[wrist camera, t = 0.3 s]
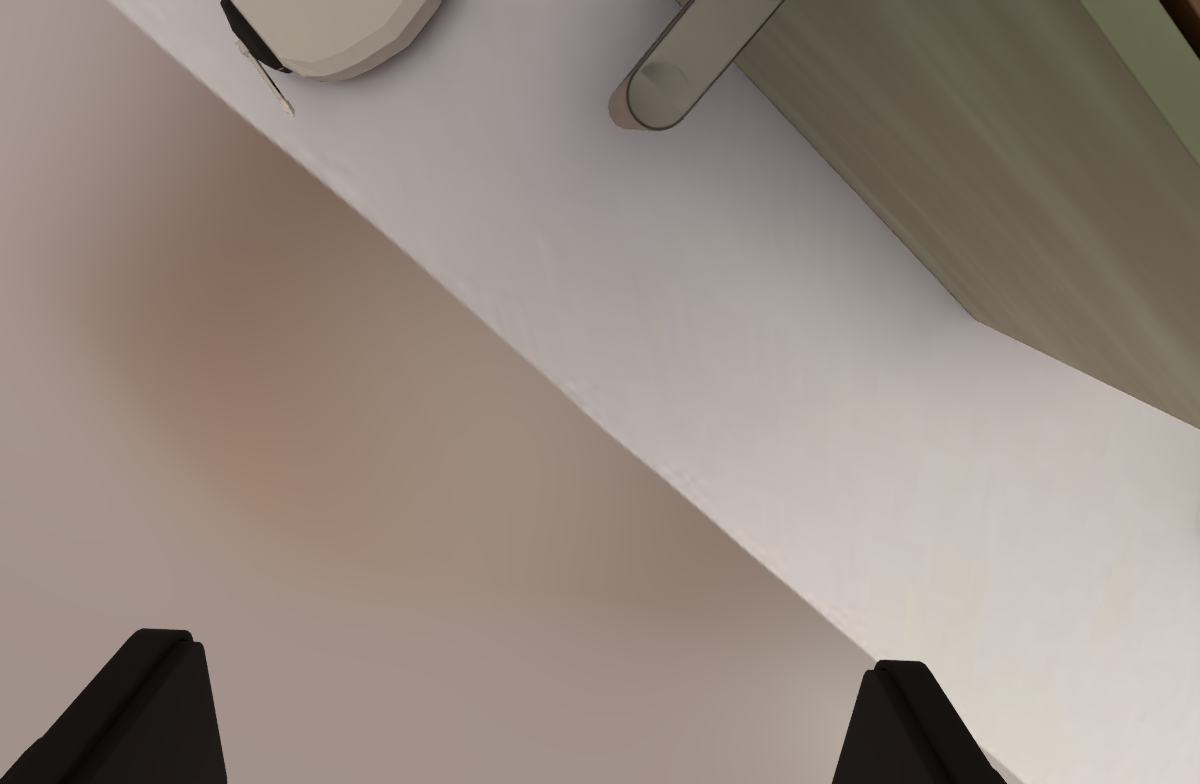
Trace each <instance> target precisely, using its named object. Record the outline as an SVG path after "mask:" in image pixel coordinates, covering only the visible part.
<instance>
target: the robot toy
mask: <svg viewBox="0 0 1200 784" xmlns="http://www.w3.org/2000/svg"><path fill="white" fill-rule="evenodd" d="M441 2H442V0H221V3H220V4H221V6H222V8H223V10H224V12H225V14H226V17H227V19H228V21H229V24H230V26H231V28H232V31H233V32H234V33H235V34H236V35H237V37H238V38H239V40H238V41H237V42H236V43H235V44H236V45H237V46H238V48H239V49H240V51H241V52H242V54H243V55H245V56H247V57H249V59H250V60H251V62H252V63H253V64H254V66H255V67H256V69H257V70H258V71H259V73H260V74H261V76H262V77H263V79H264V80H265V81H266V83H267V84H268V86H269V87H270V88H271V90H272V91H273V93H274V94H275V95H276V97H277V98H278V100H279V101H280V102H279V103H280V105H281V106H282V108H283V109H284V110H285V111H286V112H287V113H289V114H290V115H292V116H294V109H293V107H292V106H291V104H290V103H289V101H287V100H286V99H285V98H284V96H283V95H282V94H281V92H280V91H279V89H278V88H277V87H276V85H275V84H274V82H273V81H272V79H271V78H270V77H269V75H268V74H267V72H266V71H265V70H264V68H263V67H262V65H261V64H260V62H259V61H261V62H262V63H264V64H266V65H268V66H269V67H271V68H273V69H275V70H278V71H281V72H284V73H291V72H296V73H298V74H300V75H302V76H304V77H307V78H310V79H313V80H317V81H320V82H322V81H343V80H347V79H350V78H353V77H355V76H358V75H360V74H362V73H364V72H367V71H369V70H371V69H373V68H375V67H376V66H378V65H379V64H381V63H382V62H384V61H386V60H387V59H389V58H390V57H392V56H394V55H395V54H397V53H398V52H400V51H401V50H403V49H405V48H406V47H408V46H409V45H410V43H411V42H412V41H413V40H414V38H415V37H416V36H417V35H418V33H419V32H420V31H421V29H422V28H423V27H424V26H425V24H426V23H427V22H428V20H429V19H430V18H431V17H432V15H433V14H434V13H435V11H436V10H437V8H438V7H439V5H440V3H441ZM257 59H258V60H259V61H258V60H257Z"/></svg>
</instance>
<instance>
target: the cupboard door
mask: <svg viewBox="0 0 1200 784" xmlns="http://www.w3.org/2000/svg"><path fill="white" fill-rule="evenodd" d="M677 1H678V2H679V4H680V5H681V6H682V7H683V8H682V9H681V10H680V11H679V13H678V14H677V15H676V16H675V17H674V19H673V20H672V21H671V22H670V24H669V25H668V26H667V27H666V28H665V30H664V31H663V32H662V33H661V35H660V36H659V37H658V38H657V39H656V41H655V42H654V43H653V44H652V46H651V47H650V48H649V49H648V50H647V52H646V53H645V54H644V55H643V57H642V58H641V59H640V60H639V61H638V63H637V64H636V65H635V66H634V68H633V69H632V70H631V71H630V72H629V74H628V75H627V76H626V77H625V79H624V80H623V81H622V82H621V83H620V85H619V86H618V87H617V88H616V90H615V91H614V92H613V93H612V95H611V97H610V100H609V104H608V109H609V114H610V117H611V119H612V120H613V122H614V123H615V124H616V125H617V126H619V127H621V128H624V129H634V130H653V131H662V130H667V129H670V128H672V127H674V126H675V125H677V124H678V123H680V122H681V121H682V120H683V118H684V117H685V116H686V115H687V114H688V113H689V112H690V110H691V109H692V108H693V107H694V106H695V105H696V103H697V102H698V101H699V100H700V99H701V98H702V97H703V95H704V94H705V93H706V92H707V91H708V90H709V88H710V87H711V86H712V85H713V84H714V83H715V81H716V80H717V79H718V78H719V77H720V76H721V75H722V73H723V72H724V71H725V70H726V69H727V68H728V66H729V65H730V64H731V63H732V62H733V61H734V62H735V63H736V64H737V65H738V67H739V68H740V69H741V70H742V71H743V72H744V73H745V74H746V75H747V76H748V77H749V78H750V79H751V80H752V81H753V83H754V84H755V85H756V86H757V87H758V88H759V89H760V90H761V91H762V92H763V93H764V94H765V95H766V96H767V98H768V99H769V100H770V101H771V102H772V103H773V104H774V105H775V106H776V107H777V108H778V109H779V110H780V111H781V112H782V114H783V115H784V116H785V117H786V118H787V119H788V120H789V121H790V122H791V123H792V124H793V125H794V126H795V127H796V128H797V130H798V131H799V132H800V133H801V134H802V135H803V136H804V137H805V138H806V139H807V140H808V141H809V142H810V143H811V144H812V146H813V147H814V148H815V149H816V150H817V151H818V152H819V153H820V154H821V155H822V156H823V157H824V158H825V159H826V161H827V162H828V163H829V164H830V165H831V166H832V167H833V168H834V169H835V170H836V171H837V172H838V173H839V174H840V175H841V177H842V178H843V179H844V180H845V181H846V182H847V183H848V184H849V185H850V186H851V187H852V188H853V189H854V190H855V191H856V193H857V194H858V195H859V196H860V197H861V198H862V199H863V200H864V201H865V202H866V203H867V204H868V205H869V206H870V207H871V209H872V210H873V211H874V212H875V213H876V214H877V215H878V216H879V217H880V218H881V219H882V220H883V221H884V222H885V223H886V225H887V226H888V227H889V228H890V229H891V230H892V231H893V232H894V233H895V234H896V235H897V236H898V237H899V238H900V240H901V241H902V242H903V243H904V244H905V245H906V246H907V247H908V248H909V249H910V250H911V251H912V252H913V253H914V254H915V256H916V257H917V258H918V259H919V260H920V261H921V262H922V263H923V264H924V265H925V266H926V267H927V268H928V269H929V270H930V272H931V273H932V274H933V275H934V276H935V277H936V278H937V279H938V280H939V281H940V282H941V283H942V284H943V285H944V286H945V288H946V289H947V290H948V291H949V292H950V293H951V294H952V295H953V296H954V297H955V298H956V299H957V300H958V301H959V303H960V304H961V305H962V306H963V307H964V308H965V309H966V310H967V311H968V312H969V313H970V314H971V315H972V316H973V317H974V319H975V320H977V321H979V322H981V323H983V324H985V325H987V326H989V327H991V328H993V329H995V330H997V331H1000V332H1002V333H1004V334H1006V335H1008V336H1010V337H1012V338H1014V339H1016V340H1018V341H1020V342H1022V343H1024V344H1026V345H1028V346H1030V347H1032V348H1034V349H1036V350H1038V351H1041V352H1043V353H1045V354H1047V355H1049V356H1051V357H1053V358H1055V359H1057V360H1059V361H1061V362H1063V363H1065V364H1067V365H1069V366H1071V367H1073V368H1075V369H1077V370H1079V371H1082V372H1084V373H1086V374H1088V375H1090V376H1092V377H1094V378H1096V379H1098V380H1100V381H1102V382H1104V383H1106V384H1108V385H1110V386H1112V387H1114V388H1116V389H1118V390H1120V391H1123V392H1125V393H1127V394H1129V395H1131V396H1133V397H1135V398H1137V399H1139V400H1141V401H1143V402H1145V403H1147V404H1149V405H1151V406H1153V407H1155V408H1157V409H1159V410H1161V411H1164V412H1166V413H1168V414H1170V415H1172V416H1174V417H1176V418H1178V419H1180V420H1182V421H1184V422H1186V423H1188V424H1190V425H1192V426H1194V427H1196V428H1198V429H1200V60H1199V58H1198V57H1197V55H1196V54H1195V52H1194V51H1193V49H1192V48H1191V47H1190V45H1189V44H1188V42H1187V41H1186V39H1185V38H1184V36H1183V35H1182V33H1181V32H1180V30H1179V29H1178V28H1177V26H1176V25H1175V23H1174V22H1173V20H1172V19H1171V17H1170V16H1169V14H1168V13H1167V12H1166V10H1165V9H1164V7H1163V6H1162V4H1161V3H1160V1H1159V0H677Z"/></svg>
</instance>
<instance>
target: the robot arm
mask: <svg viewBox="0 0 1200 784" xmlns="http://www.w3.org/2000/svg"><path fill="white" fill-rule="evenodd" d="M0 784H227V775H226V769H225V763H224V758H223V752H222V747H221V741H220V736H219V730H218V724H217V718H216V714H215V707H214V701H213V696H212V690H211V684H210V679H209V674H208V667H207V662H206V656H205V650H204V647H203V645H202V644H201V643H200V642H194V641H193V638H192V635H191V633H190V632H188V631H186V630H170V629H169V630H168V629H147V628H146V629H145V628H143V629H140V630H138V631H136V632H135V633H134V634H133V635H132V636H131V637H130V638H129V639H128V640H127V641H126V642H125V644H123V646H122V647H121V648H120V649H119V650H118V651H117V653H116V654H115V655H114V656H113V657H112V658H111V659H110V660H109V662H108V663H107V664H106V665H105V666H104V667H103V668H102V670H101V671H100V672H99V673H98V674H97V675H96V676H95V678H94V679H93V680H92V681H91V682H90V683H89V684H88V685H87V687H86V688H85V689H84V690H83V691H82V692H81V693H80V695H79V696H78V697H77V698H76V699H75V700H74V701H73V703H72V704H71V705H70V706H69V707H68V708H67V710H66V711H65V712H64V713H63V714H62V715H61V716H60V717H59V719H58V720H57V721H56V722H55V723H54V724H53V725H52V726H51V728H50V729H49V730H48V731H47V732H46V733H45V735H44V736H43V737H41V738H39V739H38V740H37V741H36V742H35V743H33V744H32V745H31V747H29V748H28V749H27V750H26V751H25V752H24V753H23V754H22V755H21V757H20V758H19V759H18V760H17V761H16V762H15V763H14V764H13V766H12V767H11V768H10V769H9V770H8V771H7V772H6V774H5V775H4V776H3V777H2V778H1V779H0ZM832 784H1007V783H1006V782H1005V780H1004V779H1003V778H1002V777H1001V775H1000V774H999V773H998V772H997V771H996V770H995V769H993V768H992V766H991V765H990V763H989V762H988V760H987V759H986V757H985V755H984V754H983V752H982V751H981V749H980V748H979V746H978V744H977V743H976V741H975V740H974V738H973V737H972V735H971V734H970V732H969V730H968V729H967V727H966V726H965V724H964V723H963V721H962V720H961V718H960V716H959V715H958V713H957V712H956V710H955V709H954V707H953V706H952V704H951V702H950V701H949V699H948V698H947V696H946V695H945V693H944V692H943V690H942V688H941V687H940V685H939V684H938V682H937V681H936V679H935V678H934V676H933V674H932V673H931V671H930V670H929V669H928V667H927V666H926V665H925V664H924V663H922V662H920V661H900V660H880V661H879V662H877V663H876V666H875V668H874V670H867V671H866V672H865V674H864V676H863V679H862V682H861V686H860V690H859V693H858V696H857V700H856V703H855V706H854V710H853V713H852V717H851V720H850V723H849V727H848V730H847V734H846V737H845V740H844V744H843V747H842V751H841V754H840V757H839V761H838V764H837V768H836V771H835V774H834V778H833V782H832Z"/></svg>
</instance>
